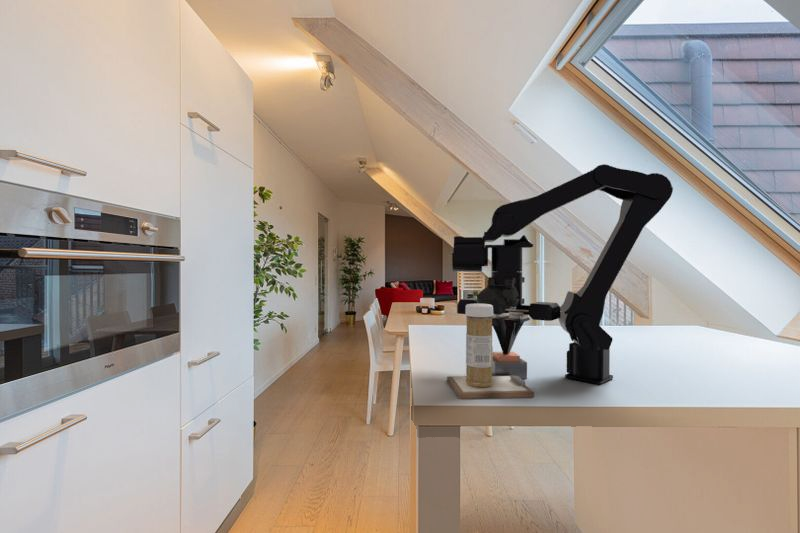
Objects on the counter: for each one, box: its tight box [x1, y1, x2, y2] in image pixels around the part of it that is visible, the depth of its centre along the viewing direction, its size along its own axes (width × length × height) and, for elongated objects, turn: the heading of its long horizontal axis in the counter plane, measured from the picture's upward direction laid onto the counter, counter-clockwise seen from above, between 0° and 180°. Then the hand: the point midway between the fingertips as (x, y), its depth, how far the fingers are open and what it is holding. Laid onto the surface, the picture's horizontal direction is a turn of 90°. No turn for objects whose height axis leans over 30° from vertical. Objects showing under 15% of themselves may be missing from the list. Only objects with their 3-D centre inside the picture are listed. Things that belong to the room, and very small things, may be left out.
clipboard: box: [446, 375, 535, 400], centre depth 76 cm, size 12×10×2 cm
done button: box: [493, 351, 521, 362], centre depth 85 cm, size 4×4×3 cm
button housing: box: [492, 357, 528, 380], centre depth 85 cm, size 6×6×3 cm
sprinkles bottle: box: [464, 304, 494, 387], centre depth 75 cm, size 5×5×13 cm
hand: (506, 353), depth 85 cm, fingers closed, pressing on done button
